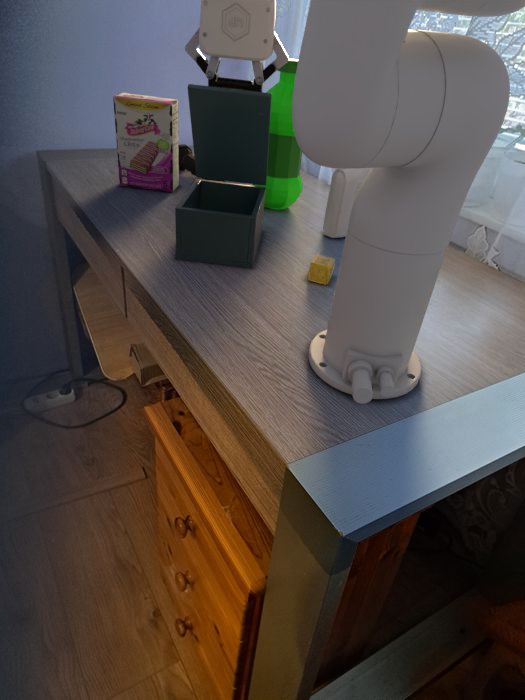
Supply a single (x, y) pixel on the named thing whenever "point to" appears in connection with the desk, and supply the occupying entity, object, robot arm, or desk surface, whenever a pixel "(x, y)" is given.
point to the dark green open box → (220, 223)
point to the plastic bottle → (283, 144)
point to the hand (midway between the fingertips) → (234, 109)
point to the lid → (230, 131)
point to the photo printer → (342, 199)
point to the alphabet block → (321, 269)
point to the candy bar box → (147, 141)
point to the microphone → (188, 160)
